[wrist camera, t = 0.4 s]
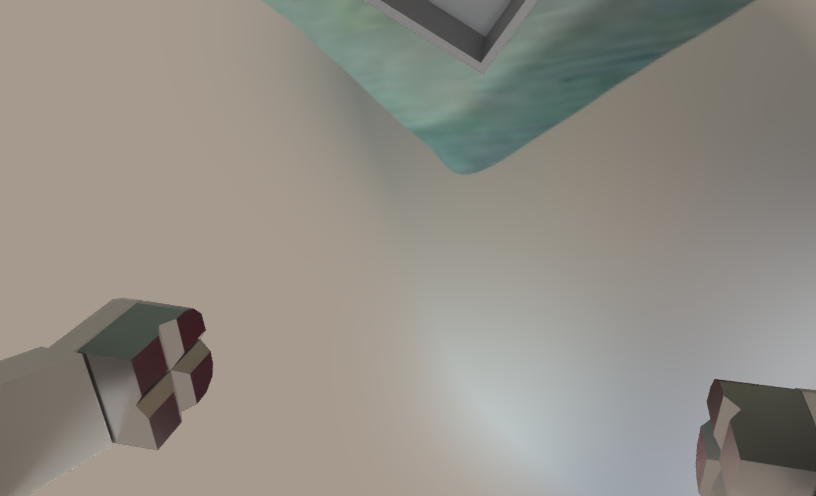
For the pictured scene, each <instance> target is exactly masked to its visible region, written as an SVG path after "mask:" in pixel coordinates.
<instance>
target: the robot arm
mask: <svg viewBox="0 0 816 496" xmlns="http://www.w3.org/2000/svg"><path fill="white" fill-rule="evenodd" d="M205 331H206V329H205V325H204V321H203V317H202V314H201V313H200V312H198V311H197V310H195V309H193V308H187V307H181V306H175V305H169V304H162V303H156V302H149V301H142V300H135V299H128V298H118V299H112V300H111V301H110V302H109V303H107V304H106V305H105V306H103V307H102V308H100V309H99V310H98V311H96V312H95V313H94V314H92V315H91V316H90V317H88V318H87V319H86V320H84V321H83V322H82V323H81V324H79V325H78V326H77V327H75V328H74V329H73V330H71V331H70V332H69V333H67V334H66V335H65V336H63V337H62V338H61V339H59V340H58V341H57V342H55V343H54V344H53V345H51V346H50V347H49V348H44V347H39V348H36V349H33V350H30V351H27V352H24V353H21V354H19V355H15V356H13V357H10V358H7V359H4V360H1V361H0V496H29V495H30V494H32V493H34V492H35V491H37V490H39V489H40V488H42V487H43V486H45V485H47V484H49V483H50V482H52V481H54V480H55V479H57V478H59V477H60V476H62V475H64V474H65V473H67V472H69V471H71V470H72V469H74V468H76V467H77V466H79V465H80V464H82V463H84V462H86V461H87V460H89V459H91V458H92V457H94V456H96V455H97V454H99V453H101V452H102V451H104V450H105V449H107V448H109V447H111V446H112V445H113V443H118V444H123V445H130V446H135V447H141V448H147V449H153V450H158V449H159V448H160V447H161V446H162V445H163V444H164V442H165V441H166V440H167V439H168V438H169V436H170V435H171V434H172V433H173V432H174V431H175V430H176V428H177V427H178V426H179V425H180V424H181V422H182V413H181V412H182V411H184V410H186V409H188V408H190V407H192V406H194V405H196V404H198V402H199V401H200V400H201V398H202V397H203V396H204V395H205V393H206V392H207V390H208V387H209V384H210V381H211V379H212V374H213V361H212V356H211V351H210V350H209V349H208V348H207V347H206V345H205V344H204V343H203V342H202V341H201V337H202V336H203V334H204V332H205ZM707 405H708V410H709V415H710V420H709V421H708V422H706V423H705V424H703V425H702V426H701V428H700V433H699V438H698V443H697V453H696V477H697V485H698V491H699V494H700V495H701V496H816V390H810V389H800V388H795V389H790V388H781V387H774V386H767V385H759V384H751V383H743V382H735V381H727V380H719V379H714V381H713V383H712V385H711V387H710V391H709V395H708V399H707Z"/></svg>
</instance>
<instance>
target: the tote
mask: <svg viewBox="0 0 816 496" xmlns="http://www.w3.org/2000/svg"><path fill="white" fill-rule="evenodd" d="M364 1H365V2H367V3H368V4H370V5H372V6H373V7H375V8H377V9H378V10H380V11H381V12H383V13H385V14H386V15H388V16H389V17H391V18H393V19H394V20H396V21H398V22H399V23H401V24H402V25H404V26H406V27H407V28H409V29H410V30H412V31H414V32H415V33H417V34H419V35H420V36H422V37H423V38H425V39H427V40H428V41H430V42H431V43H433V44H435V45H436V46H438V47H440V48H441V49H443V50H444V51H446V52H448V53H449V54H451V55H452V56H454V57H456V58H457V59H459V60H460V61H462V62H464V63H465V64H467V65H469V66H470V67H472V68H473V69H475V70H477V71H478V72H480V73H481V74H484V73H485V72H486V70H487V69H488V68H489V66H490V65H491V64H492V62H493V61H494V60H495V58H496V57H497V55H498V54H499V53H500V51H501V50H502V49H503V47H504V46H505V45H506V43H507V42H508V40H509V39H510V38H511V36H512V35H513V34H514V32H515V31H516V30H517V28H518V27H519V25H520V24H521V23H522V21H523V20H524V19H525V17H526V16H527V15H528V13H529V12H530V11H531V9H532V8H533V6H534V5H535V4H536V2H537V1H538V0H364Z"/></svg>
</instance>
